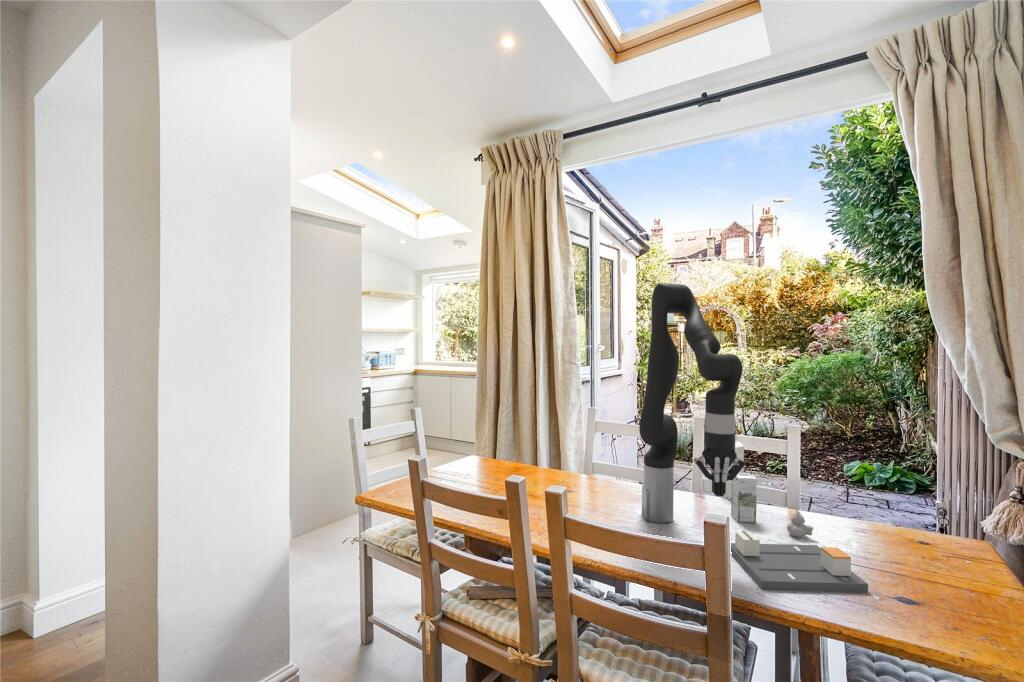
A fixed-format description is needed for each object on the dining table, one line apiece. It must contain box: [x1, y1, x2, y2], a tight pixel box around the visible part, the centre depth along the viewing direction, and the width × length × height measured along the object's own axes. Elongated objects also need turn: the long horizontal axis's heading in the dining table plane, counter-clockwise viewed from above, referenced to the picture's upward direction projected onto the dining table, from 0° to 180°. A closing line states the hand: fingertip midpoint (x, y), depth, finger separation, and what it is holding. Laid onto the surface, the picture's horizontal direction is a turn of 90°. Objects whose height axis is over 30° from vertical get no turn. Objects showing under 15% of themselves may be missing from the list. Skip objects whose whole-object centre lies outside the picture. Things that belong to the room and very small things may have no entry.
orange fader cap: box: [820, 546, 852, 576], centre depth 115 cm, size 4×5×4 cm
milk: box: [721, 435, 745, 501], centre depth 173 cm, size 6×6×22 cm
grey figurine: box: [786, 509, 814, 538], centre depth 139 cm, size 5×7×8 cm
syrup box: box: [730, 472, 758, 524], centre depth 152 cm, size 6×6×14 cm
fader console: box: [730, 542, 869, 593], centre depth 120 cm, size 24×20×2 cm
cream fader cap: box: [734, 530, 761, 556], centre depth 125 cm, size 4×5×4 cm
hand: (718, 495), depth 125 cm, fingers closed
